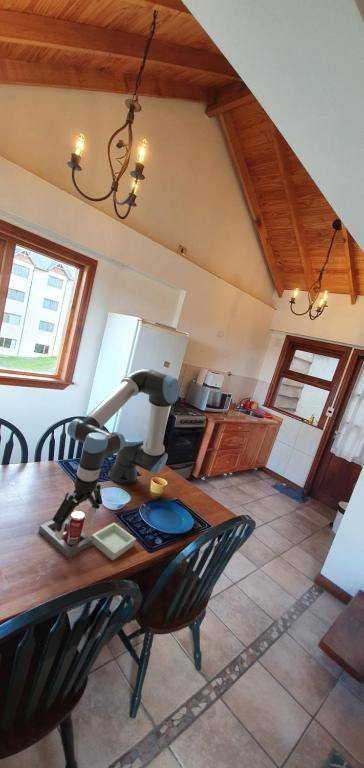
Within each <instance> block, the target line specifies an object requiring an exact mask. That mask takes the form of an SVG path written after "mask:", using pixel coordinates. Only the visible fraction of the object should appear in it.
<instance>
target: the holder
mask: <svg viewBox="0 0 364 768" xmlns="http://www.w3.org/2000/svg"><path fill="white" fill-rule="evenodd" d="M62 519H63V518H62ZM65 523H66V524H65V528H64V530H66V531H67V527H68V523H69V519H68V518H67V519H66V520H65ZM56 525H57V524H56V523H55V522H54V521H53V520H52V519H51V520H49V521H46V522H45V523H42V524H40V525H39V528H38V532H39V533H40V534H41V535H42V536H43V537H45V538H46V539H47V540H48V541H49V542H50V543H51V544H52V545H53V546H54V547H55V548H57V550H58V551H60V552H61V553H62V554H63V555H64V556H65V557H66V558H67V559H70V558H72V557H73V556H74V555H77V554H78V553H80V552H81V551H83V550H85V549H86V548H88V547H90V546H91V545H92V543H91V542H92V539H91V537H90V536H89V535H87V534H86V533H85V532H83V531H82V532H81V536H80V540H79V543H77V544H75V545H74V546H72V547H70V546H69V545H68V544H67V543H66V542H65V541H64V539H65V535H66V531H64V532H63V537H62V540H59V539H58V538H56V537H55V534H56V531H54V530H52V529H56Z"/></svg>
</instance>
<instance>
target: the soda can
mask: <svg viewBox="0 0 364 768" xmlns="http://www.w3.org/2000/svg"><path fill="white" fill-rule="evenodd" d="M85 515H86V514H85V513H84V512H83V511H82V510H73V511H72V512H71V514H70V515H69V517H68V518H69V519H68V520H69V523H68V527H67V530H66V531H65V532H66V535H65V539H64V541H65V542H66V543H67V544H68V545H69V546H70V547H72V546H74V545H75V544H77V543H79V542H80V541H79V540H80V536H81V532H83V527H84V524H85V521H86V518H85Z"/></svg>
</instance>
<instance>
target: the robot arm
mask: <svg viewBox="0 0 364 768" xmlns="http://www.w3.org/2000/svg"><path fill="white" fill-rule="evenodd" d="M180 388H181V385H180V382H179V380H178V379H177V377H176V378H175V377H173V375H172V376H171V375H169V374H165V373H163V372H159V371H156V370H154V369H150V368H142V369H138V370H135V371H133V372H131V373H129V374H127V375H125V377H124V378H123V379H121V381H120V384H119V386H117V387H116V388H115V389H114V390H113V391H112V392H110V394H109V395H108V396H107V397H105V398H104V399H103V401H101V402H100V403H99V404H98V405H97V406H96V407H95V408H93V410H91V412H89V413H88V414H87V415H86V416H85V417H84V418H83V419H80V418H73V419H72V420H71V421H70V423H69V424H68V426H67V428H66V429H67V430H66V431H67V435H68V436H69V437H70V438H72V439H73V440H75V441H77V442H80V443H83V445H82V451H81V456H80V459H79V463H78V467H77V471H76V476H75V480H74V485H73V486H74V491H73V492H72V493H70V492H66V494H65V496H64V499H63V501H62V502H61V504H60V506H59V507H58V509H57V511H56V512H55V514H54V516H53V517H52V519H51V520H53V521H54V522H55V523H56V524H57V525H56V527H55V533H56V534H55V537H56V538H58V539H59V540H62V537H63V533H64V532H65V524H66V523H65V520H66V519H68V518H69V517H70V516H71V514H72V513H73V512H74V511H75V508H77V507H78V506H79V505H80V504H81V503H83V502H86V501H89V502H90V505H89V506H88V511H87V514H86V515H87V516H86V518H85V522H87V523H88V524H89V525H93V521H94V518H95V514H96V512H97V510H98V509H100V507H101V506H100V505H102V504H103V498H102V494H101V492H102V491H101V484H99V483H98V482H99V477H100V473H101V468H102V467H103V466H102V465H103V461H104V459H106V458H108V457H110V456H112V455H114V454H116V456H115V457H116V458H115V461H114V463H113V465H112V466H111V467H110V469H109V471H108V477H110V478H109V479H110V480H111V481H112V482H114V483H116V484H120V485H132V484H134V483H136V482H137V481H136V480H137V478H138V474H137V467H139V468H141V469H143V470H146V471H147V472H149V473H152V474H154V475H157V474H159V473H160V472H161V471H162V470H163V468H164V467H165V465H166V463H167V460H168V457H169V455H168V453H166V449H165V447H166V446H165V445H164V440H165V439H164V438H165V432H166V427H167V421H168V415H169V409H170V407H172V406H173V404H175V403H176V402H177V400H178V398H179V395H180ZM140 393H143V394H145V395H148V402H149V404H150V411H149V418H148V424H147V425H148V426H147V432H146V439H145V442H144V439H143V438H141V437H140V436H136V435H125V436H124V434H122V433H121V432H119V431H113V432H109V431H107V430H105V429H103V427H104V426H105V424H106V423H108V422H109V421H110V420H111V419H112V418H113V417H114V416H115V415H116V414H117V413H118V412H119V411H120V409H122V408H123V406H125V404H126V403H127V402H128V401H129V400H131V399H132V397H135V396H137V395H138V394H140ZM62 518H63V519H62Z"/></svg>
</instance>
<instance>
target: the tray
mask: <svg viewBox="0 0 364 768" xmlns="http://www.w3.org/2000/svg"><path fill="white" fill-rule="evenodd" d="M90 538H91V539H92V542H91V545H93V546H95V547H96V548H97V549H99V551H101V553H103V554H105V556H107V558H109V559H110V560H111V561H114V560H116V559H117V558H119V557H120V556H121V555H122V554H124V553H125V552H127V551H128V550H130V549H131V548H132V547H134V546H135V544H136V541H137V538H136V537H135V536H133V535H132V534H130V533H129V532H128V531H126V530H125V529H124V528H122V527H121V526H120V525H119V524H118V523H116V522H112V523H110V524H109V525H107V526H104V527H103V528H102V529H101V528H100V529H99V530H98V531H96V532H94V533H93V534H91V537H90Z"/></svg>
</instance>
